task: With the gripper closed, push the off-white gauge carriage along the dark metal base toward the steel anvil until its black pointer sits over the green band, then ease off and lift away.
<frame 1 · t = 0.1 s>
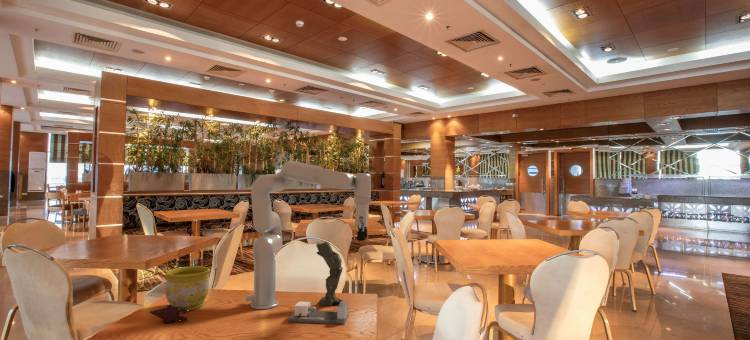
hand: (362, 238, 173), 31 cm above the table, tool pointing down, fingers open, 9 cm apart
mechanical leg: (329, 303, 180), on the table
flowerpot: (187, 307, 173), on the table
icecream: (168, 322, 155), on the table
gauge carriage: (305, 309, 160), point 4 cm above the table, slide at 0.0 cm
gauge base: (319, 318, 160), on the table
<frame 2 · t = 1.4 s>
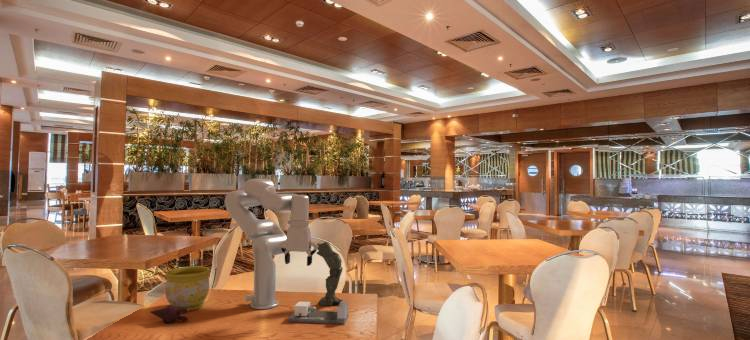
hand: (298, 264, 164), 22 cm above the table, tool pointing down, fingers open, 9 cm apart
nothing on the table moved.
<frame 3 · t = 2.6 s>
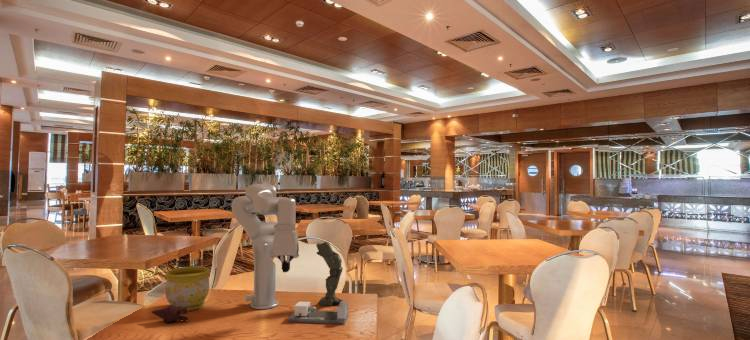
hand: (285, 271, 162), 19 cm above the table, tool pointing down, fingers closed
nothing on the table moved.
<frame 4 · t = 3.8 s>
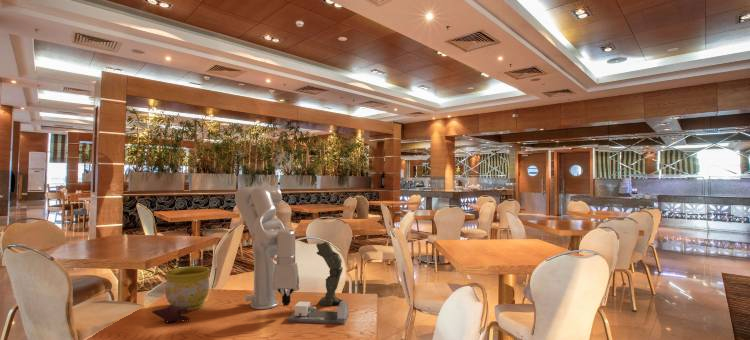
hand: (286, 304, 161), 5 cm above the table, tool pointing down, fingers closed
nothing on the table moved.
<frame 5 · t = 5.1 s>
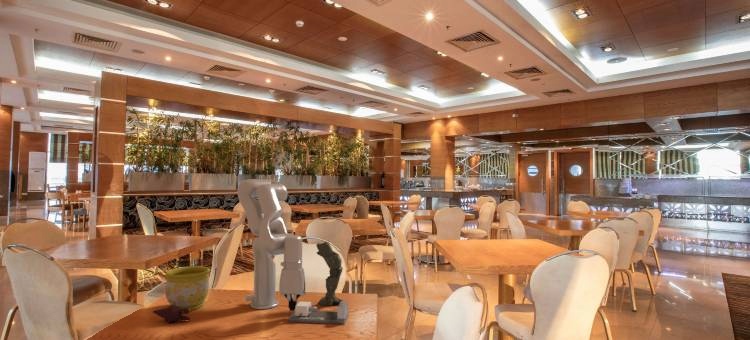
hand: (292, 309, 161), 3 cm above the table, tool pointing down, fingers closed
gauge carriage: (306, 309, 160), point 4 cm above the table, slide at 0.3 cm, touching gripper
everything else where it was.
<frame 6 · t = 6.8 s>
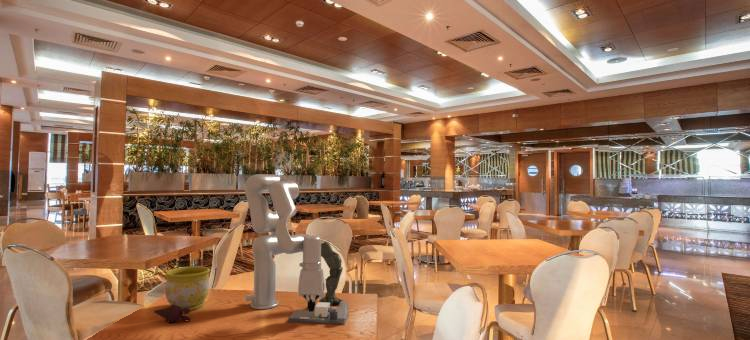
hand: (311, 310, 160), 3 cm above the table, tool pointing down, fingers closed
gauge carriage: (325, 310, 159), point 4 cm above the table, slide at 8.4 cm, touching gripper
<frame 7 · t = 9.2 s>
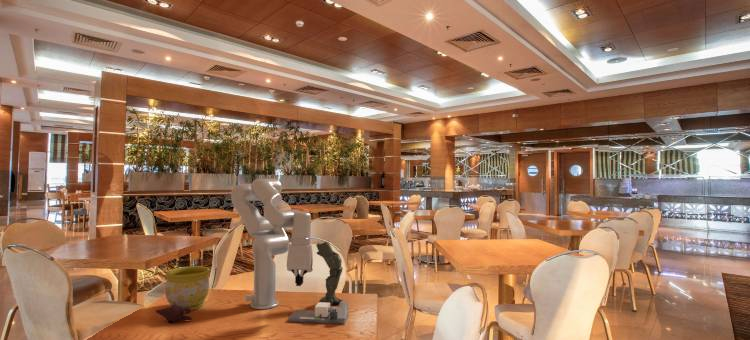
hand: (299, 285, 162), 13 cm above the table, tool pointing down, fingers closed
gauge carriage: (325, 310, 159), point 4 cm above the table, slide at 8.5 cm
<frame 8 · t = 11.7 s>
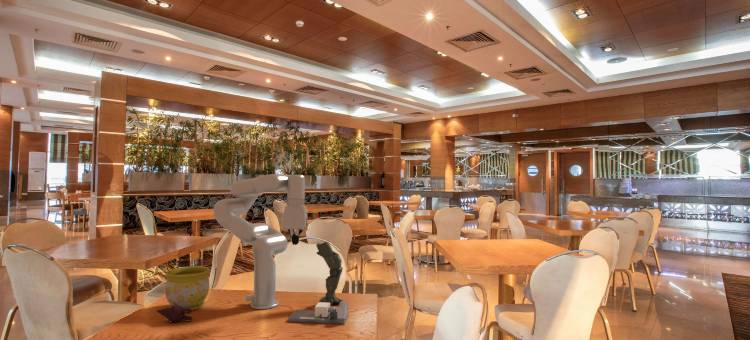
hand: (295, 244, 170), 29 cm above the table, tool pointing down, fingers closed
at the end: gauge carriage slide at 8.5 cm; mechanical leg moved 0.2 cm from its start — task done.
